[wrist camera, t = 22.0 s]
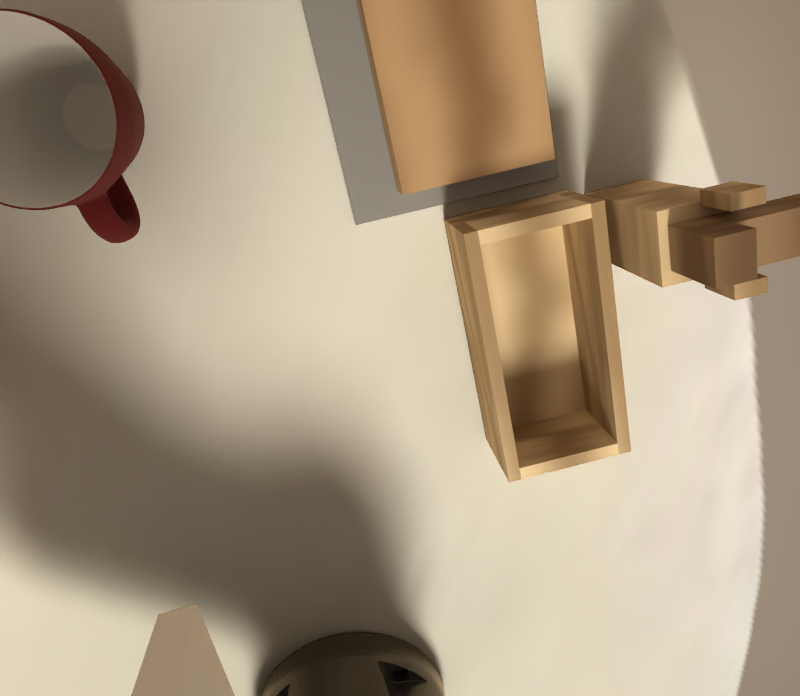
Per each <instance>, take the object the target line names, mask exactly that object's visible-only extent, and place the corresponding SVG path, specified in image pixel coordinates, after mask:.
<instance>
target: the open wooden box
mask: <svg viewBox="0 0 800 696" xmlns="http://www.w3.org/2000/svg"><path fill="white" fill-rule="evenodd" d="M765 203H766V186H763V185H755V184H747V183H740V182H728V183H724V184H720V185H716V186H711V187H707V188H703V189H702V188H696V187H689V186H683V185H677V184H671V183H665V182H658V181H652V180H646V179H644V180H639V181H635V182H631V183H627V184H623V185H619V186H614V187H610V188H606V189H602V190H598V191H594V192H589V193H585V195H582V194H578V193H575V192H571V191H567V190H564V191H560V192H556V193H552V194H548V195H543V196H539V197H535V198H531V199H527V200H523V201H518V202H514V203H510V204H506V205H502V206H498V207H493V208H489V209H485V210H481V211H477V212H473V213H468V214H464V215H460V216H456V217H452V218H448V219H444V222H445V228H446V233H447V238H448V243H449V248H450V253H451V259H452V264H453V269H454V274H455V279H456V284H457V290H458V295H459V300H460V305H461V310H462V316H463V321H464V326H465V331H466V336H467V341H468V347H469V352H470V357H471V362H472V367H473V372H474V378H475V383H476V388H477V393H478V398H479V404H480V409H481V414H482V419H483V424H484V429H485V435H486V439H487V441H488V443H489V445H490V447H491V449H492V451H493V453H494V454H495V456H496V458H497V460H498V462H499V464H500V466H501V468H502V470H503V472H504V474H505V475H506V477H507V479H508V481H509V482H513V481H517V480H521V479H525V478H528V477H532V476H536V475H540V474H544V473H548V472H552V471H556V470H560V469H564V468H568V467H572V466H575V465H579V464H583V463H587V462H591V461H595V460H599V459H603V458H607V457H611V456H615V455H619V454H622V453H626V452H630V451H631V447H630V437H629V428H628V418H627V409H626V399H625V390H624V380H623V371H622V361H621V352H620V342H619V333H618V323H617V314H616V304H615V294H614V285H613V275H612V266H611V263H612V264H614V265H616V266H618V267H620V268H622V269H624V270H627V271H629V272H631V273H633V274H635V275H637V276H639V277H641V278H643V279H646V280H648V281H650V282H652V283H654V284H656V285H658V286H660V287H666V286H670V285H674V284H679V283H683V282H687V281H691V280H692V279H690V278H687V277H685V276H682V275H680V274H678V273H675V272H673V271H671V257H670V243H669V230H668V225H672V224H676V223H681V222H685V221H689V220H693V219H697V218H701V217H705V216H709V215H713V214H718V213H722V212H726V211H731V212H732V211H736V210H740V209H744V208H748V207H752V206H757V205H761V204H765ZM757 275H758V279H756V280H752V281H748V282H744V283H740V284H736V285H732V286H728V287H724V288H720V289H714V288H712V287H709V286H707V285H705V288H706V289H709V290H711V291H713V292H716V293H718V294H721V295H723V296H725V297H728V298H730V299H733V300H739V299H743V298H747V297H751V296H755V295H759V294H763V293H767V292H768V277H767V276H764V275H761V274H758V273H757Z"/></svg>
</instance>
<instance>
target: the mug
mask: <svg viewBox="0 0 800 696" xmlns="http://www.w3.org/2000/svg"><path fill="white" fill-rule="evenodd" d="M143 135H144V114H143V109H142V105H141V102H140V100H139V97H138V95H137V93H136V91H135V89H134V87H133V86H132V84H131V83H130V81H129V80H128V79H127V77H126V76H125V75H124V74H123V73H122V71H121V70H120V69H119V68H118V67H117V66H116V65H115V64H114V62H113V61H112V60H111V59H110V58H109V57H108V56H107V55H106V54H105V53H104V52H103V51H102V50H101V49H100V48H99V47H98V46H96V45H95V44H94V43H92V42H91V41H90V40H89V39H87V38H86V37H84V36H83V35H81V34H80V33H78V32H76V31H74V30H72V29H71V28H69V27H67V26H65V25H62V24H60V23H58V22H55V21H53V20H50V19H47V18H44V17H41V16H38V15H35V14H31V13H28V12H24V11H19V10H13V9H0V204H2V205H6V206H9V207H13V208H19V209H27V210H46V209H54V208H58V207H63V206H69V205H76V206H77V207H78V208H79V210H80V212H81V214H82V216H83V218H84V219H85V221H86V222H87V224H88V225H89V226H90V228H91V229H92V230H93V231H94V232H95V233H96V234H97V235H98V236H99V237H101V238H103V239H104V240H106V241H108V242H111V243H121V242H125V241H127V240H129V239H131V238H133V237H134V236H135V235H136V234H137V233H138V231H139V228H140V216H139V212H138V208H137V205H136V203H135V200H134V198H133V196H132V194H131V192H130V190H129V188H128V186H127V184H126V182H125V180H124V178H123V176H122V173H123V172H124V171H125V170H126V168H127V167H128V166H129V165H130V163H131V162H132V161H133V159H134V158H135V156H136V155H137V153H138V151H139V149H140V146H141V144H142V140H143ZM106 195H107V196H106Z"/></svg>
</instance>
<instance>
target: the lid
mask: <svg viewBox="0 0 800 696" xmlns="http://www.w3.org/2000/svg"><path fill="white" fill-rule="evenodd" d="M356 2H357V6H358V11H359V16H360V20H361V25H362V30H363V34H364V39H365V44H366V48H367V53H368V58H369V62H370V67H371V72H372V76H373V81H374V85H375V90H376V95H377V99H378V104H379V109H380V113H381V118H382V123H383V127H384V132H385V137H386V141H387V146H388V151H389V155H390V160H391V164H392V169H393V174H394V178H395V183H396V188H397V191H398V192H400V193H401V194H402V195H406V194H410V193H414V192H419V191H423V190H427V189H431V188H435V187H440V186H444V185H448V184H452V183H456V182H461V181H465V180H469V179H473V178H477V177H482V176H486V175H490V174H494V173H498V172H503V171H507V170H511V169H515V168H519V167H524V166H528V165H532V164H536V163H540V162H545V161H549V160H553V159H555V152H554V145H553V137H552V129H551V121H550V113H549V106H548V98H547V90H546V82H545V74H544V67H543V59H542V51H541V43H540V36H539V28H538V20H537V12H536V4H535V0H356Z"/></svg>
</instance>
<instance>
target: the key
mask: <svg viewBox="0 0 800 696" xmlns="http://www.w3.org/2000/svg"><path fill="white" fill-rule="evenodd" d="M668 230H669V243H670V257H671V271H673V272H675V273H678V274H680V275H682V276H685V277H687V278H690V279H692V280H695V281H697V282H699V283H702V284H704V285H707V286H709V287H712V288H714V289H720V288H724V287H728V286H732V285H736V284H740V283H744V282H748V281H752V280H756V279H758V275H757V267H758V266H762V265H766V264H769V263H774V262H777V261H782V260H786V259H790V258H794V257H798V256H800V194H796V195H792V196H787V197H783V198H780V199H775V200H771V201H767V202H766V203H765V204H761V205H757V206H752V207H748V208H744V209H740V210H736V211H732V212H731V211H726V212H722V213H718V214H713V215H709V216H705V217H701V218H697V219H693V220H689V221H685V222H681V223H676V224H672V225H668Z"/></svg>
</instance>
